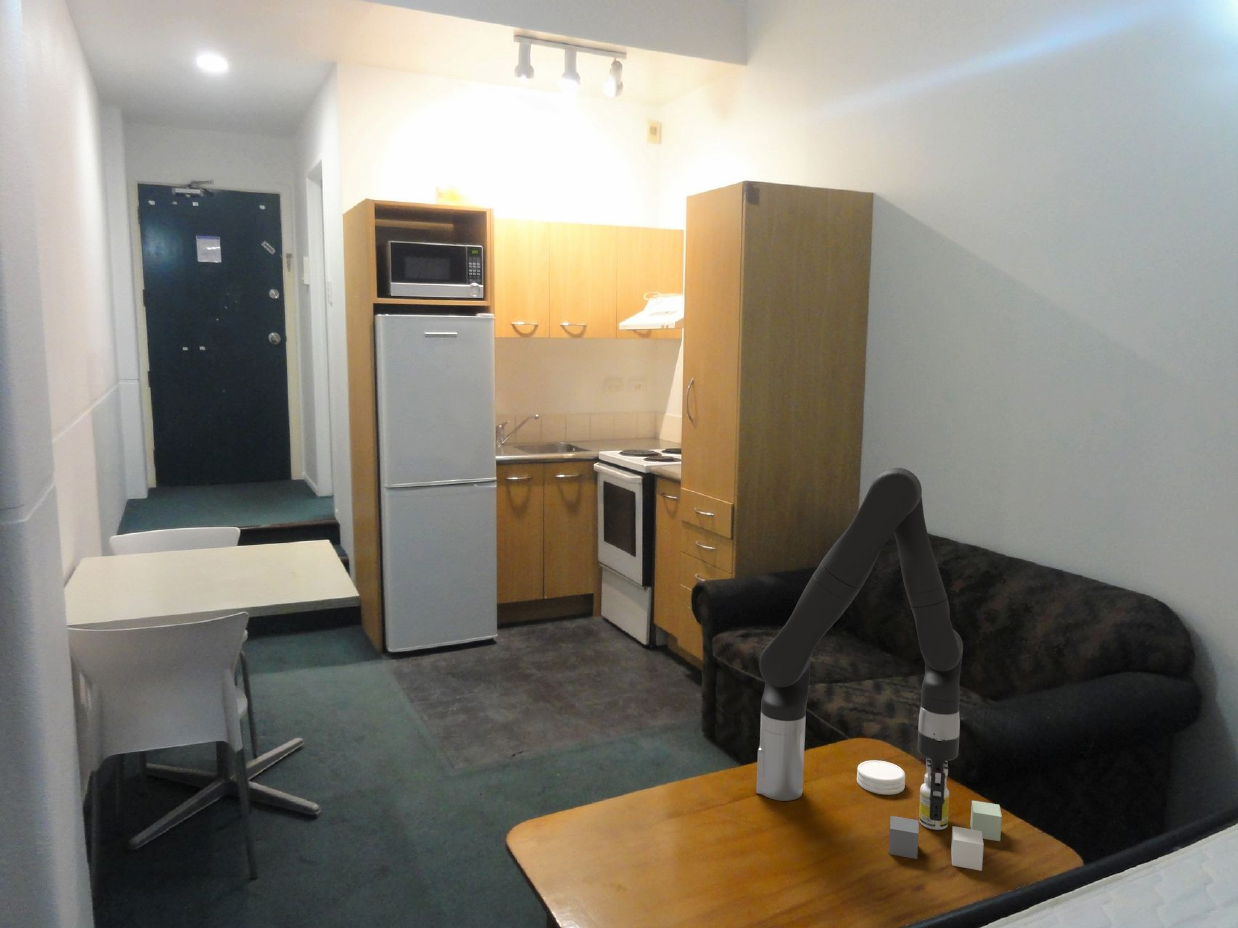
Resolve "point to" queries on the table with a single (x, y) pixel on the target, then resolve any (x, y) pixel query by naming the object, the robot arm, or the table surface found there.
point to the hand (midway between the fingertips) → (935, 809)
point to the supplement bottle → (925, 808)
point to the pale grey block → (967, 848)
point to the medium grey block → (903, 837)
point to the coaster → (881, 777)
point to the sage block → (986, 819)
